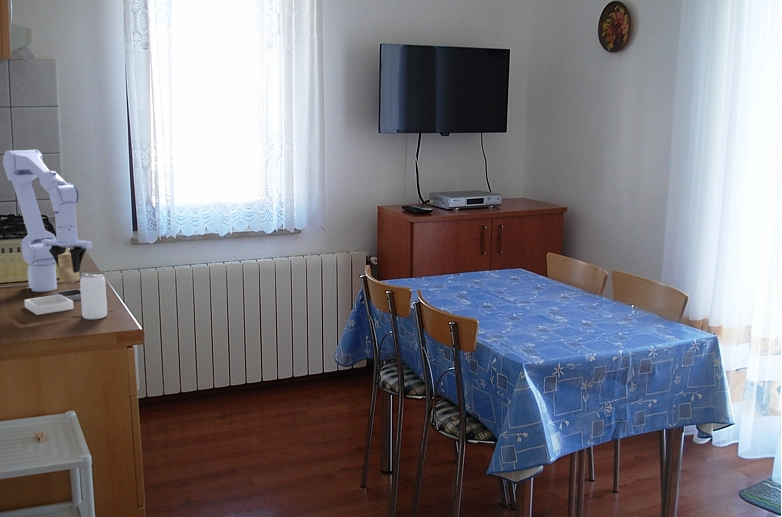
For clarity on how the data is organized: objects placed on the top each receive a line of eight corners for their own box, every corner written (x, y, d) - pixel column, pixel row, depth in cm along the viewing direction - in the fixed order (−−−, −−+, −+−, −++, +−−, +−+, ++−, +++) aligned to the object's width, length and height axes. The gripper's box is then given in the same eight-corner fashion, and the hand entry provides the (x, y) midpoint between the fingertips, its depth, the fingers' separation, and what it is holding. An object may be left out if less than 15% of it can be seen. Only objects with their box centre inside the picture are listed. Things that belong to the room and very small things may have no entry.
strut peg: (59, 281, 234) (58, 255, 232) (67, 278, 238) (65, 252, 236) (72, 282, 233) (70, 255, 232) (79, 279, 237) (78, 253, 236)
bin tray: (25, 309, 226) (24, 299, 225) (61, 304, 232) (60, 294, 231) (36, 317, 218) (36, 306, 218) (73, 311, 225) (73, 301, 224)
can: (99, 320, 216) (96, 277, 214) (77, 319, 217) (74, 276, 215) (111, 314, 222) (109, 272, 220) (90, 313, 223) (88, 271, 221)
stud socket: (50, 299, 237) (50, 292, 237) (81, 294, 243) (80, 287, 243) (61, 305, 231) (60, 298, 230) (92, 300, 236) (91, 293, 236)
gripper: (35, 227, 230) (38, 273, 232) (82, 229, 227) (85, 275, 230) (49, 223, 236) (52, 268, 239) (94, 225, 234) (97, 270, 237)
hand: (69, 271), depth 235 cm, fingers closed on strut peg, 4 cm apart
